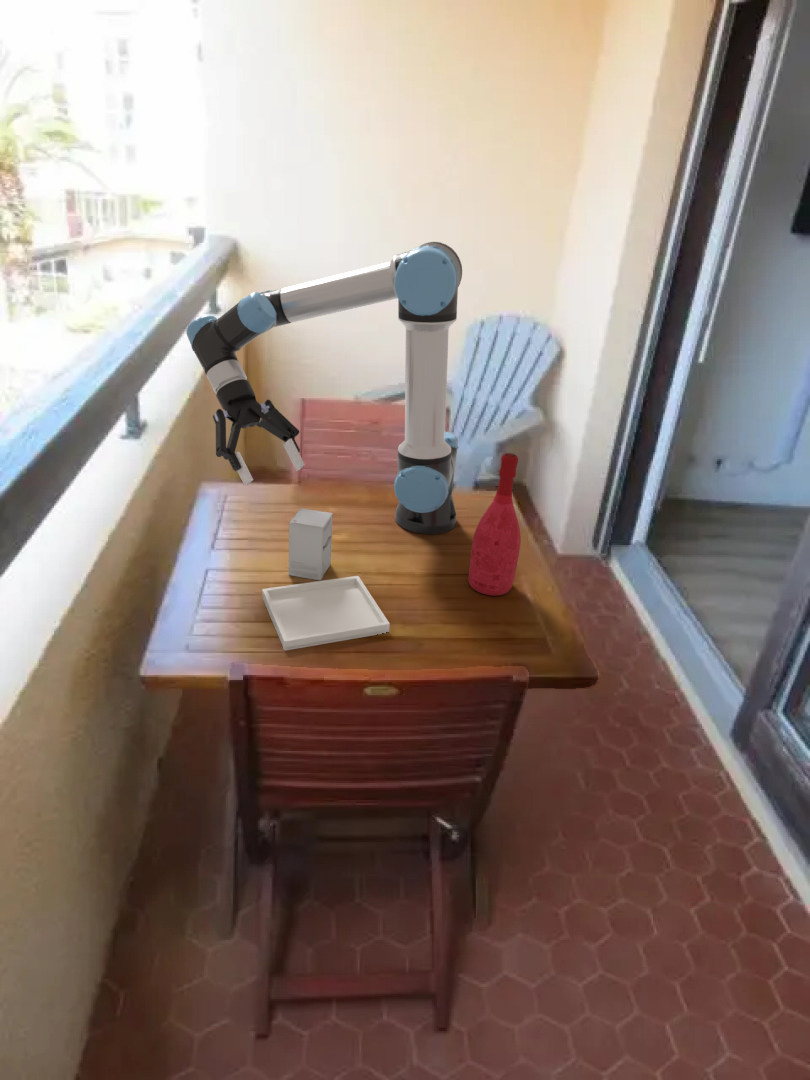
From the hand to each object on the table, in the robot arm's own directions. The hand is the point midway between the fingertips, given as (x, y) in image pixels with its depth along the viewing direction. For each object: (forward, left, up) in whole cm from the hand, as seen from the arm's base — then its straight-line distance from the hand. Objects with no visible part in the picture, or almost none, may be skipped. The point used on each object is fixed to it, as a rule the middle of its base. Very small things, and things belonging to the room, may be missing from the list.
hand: (275, 475), depth 151 cm
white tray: (-3, +27, -18) cm, 33 cm away
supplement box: (-5, +10, -18) cm, 21 cm away
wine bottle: (-40, +26, -18) cm, 51 cm away
